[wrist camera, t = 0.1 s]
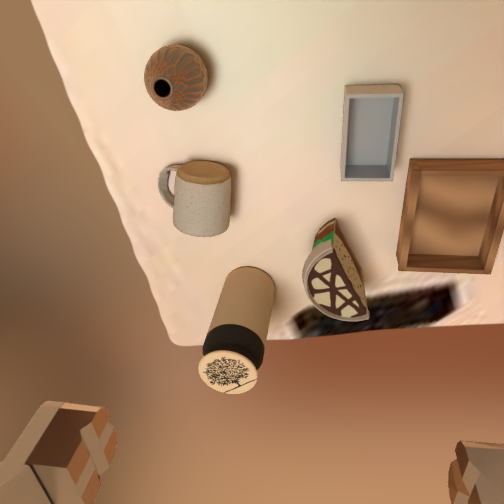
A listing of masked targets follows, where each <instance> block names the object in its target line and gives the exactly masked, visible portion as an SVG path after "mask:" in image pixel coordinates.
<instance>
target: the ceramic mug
mask: <svg viewBox="0 0 504 504" xmlns="http://www.w3.org/2000/svg"><path fill="white" fill-rule="evenodd" d="M170 170H174V171H177V173H176V178H175V196H174V198H173V197H172V196H171V194H170V193H169V191H168V187H167V182H168V176H169V171H170ZM158 188H159V192H160V194H161V196H162V198H163V199H164V201H165V202H166V203H167V204H168V205H169V206H170V207H172V208H173V209H174V210H173V223H174V226H175V227H176V228H177V229H178V230H179V231H181V232H183V233H185V234H188V235H192V236H197V237H212V236H216V235H219V234H222V233H223V232H225V231H226V230H227V229H228V227H229V222H230V204H231V175H230V172H229V170H228V169H227V168H225V167H224V166H223V165H220V164H218V163H214V162H209V161H192V162H188V163H185V164H183V165H182V166H180V165H172V166H169V167H167V168H165V169H163V170H162V171H161V173H160V175H159V178H158Z"/></svg>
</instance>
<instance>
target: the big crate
mask: <svg viewBox="0 0 504 504" xmlns="http://www.w3.org/2000/svg"><path fill="white" fill-rule="evenodd" d="M503 230H504V159H410V161H409V168H408V175H407V182H406V189H405V196H404V203H403V210H402V217H401V224H400V231H399V238H398V245H397V252H396V256H397V261H398V265H399V266H398V270H399V271H417V272H443V273H469V274H491V272H492V268H493V265H494V261H495V258H496V254H497V251H498V247H499V244H500V241H501V237H502V234H503Z"/></svg>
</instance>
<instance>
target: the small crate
mask: <svg viewBox="0 0 504 504" xmlns="http://www.w3.org/2000/svg"><path fill="white" fill-rule="evenodd" d="M403 97H404V93H403V91H402V89H401V87H400V86H399V84H380V85H345V91H344V110H343V128H342V147H341V165H340V169H341V181H393V177H394V169H395V161H396V153H397V145H398V137H399V129H400V121H401V113H402V105H403Z"/></svg>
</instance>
